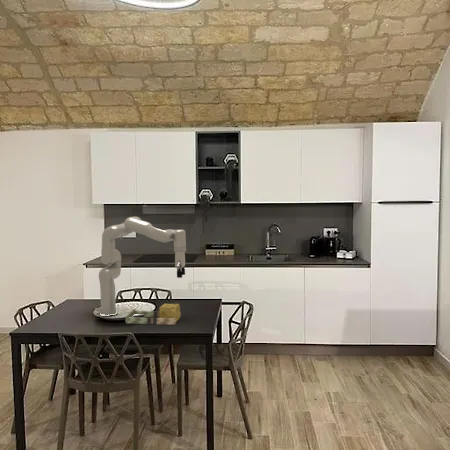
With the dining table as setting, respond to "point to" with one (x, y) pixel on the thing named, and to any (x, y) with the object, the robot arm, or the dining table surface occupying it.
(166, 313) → the cheese
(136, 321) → the track
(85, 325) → the dining table surface
